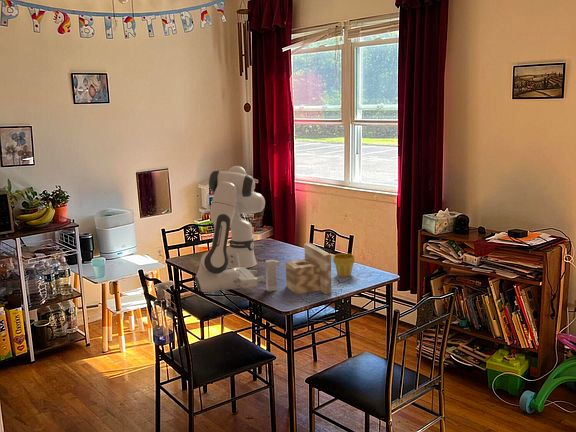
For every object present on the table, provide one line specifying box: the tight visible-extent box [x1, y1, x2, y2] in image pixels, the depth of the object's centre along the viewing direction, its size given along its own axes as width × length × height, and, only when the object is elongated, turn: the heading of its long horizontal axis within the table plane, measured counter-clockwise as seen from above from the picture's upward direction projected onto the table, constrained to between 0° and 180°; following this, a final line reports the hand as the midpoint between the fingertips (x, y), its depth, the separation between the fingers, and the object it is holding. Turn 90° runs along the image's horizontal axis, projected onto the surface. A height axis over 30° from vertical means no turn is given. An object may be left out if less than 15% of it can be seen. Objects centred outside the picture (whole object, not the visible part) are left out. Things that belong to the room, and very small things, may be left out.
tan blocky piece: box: [285, 242, 333, 295], centre depth 266 cm, size 15×24×18 cm, turn 20°
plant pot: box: [333, 252, 355, 278], centre depth 285 cm, size 10×10×10 cm
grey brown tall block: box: [264, 259, 280, 292], centre depth 265 cm, size 6×3×14 cm, turn 110°
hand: (261, 275), depth 263 cm, fingers open, 8 cm apart
